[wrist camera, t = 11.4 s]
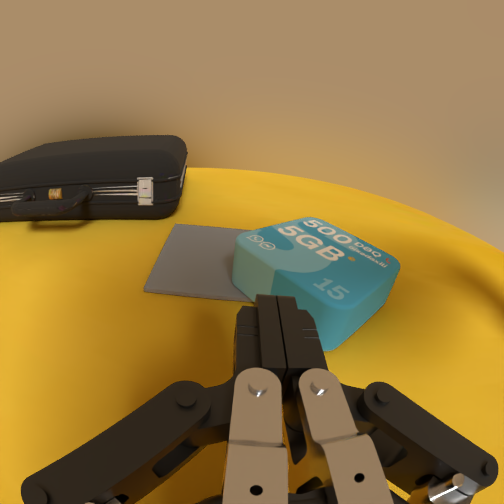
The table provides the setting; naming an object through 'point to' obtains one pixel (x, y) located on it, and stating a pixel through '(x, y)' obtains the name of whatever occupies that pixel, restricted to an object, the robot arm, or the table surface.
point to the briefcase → (94, 179)
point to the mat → (197, 264)
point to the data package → (316, 273)
